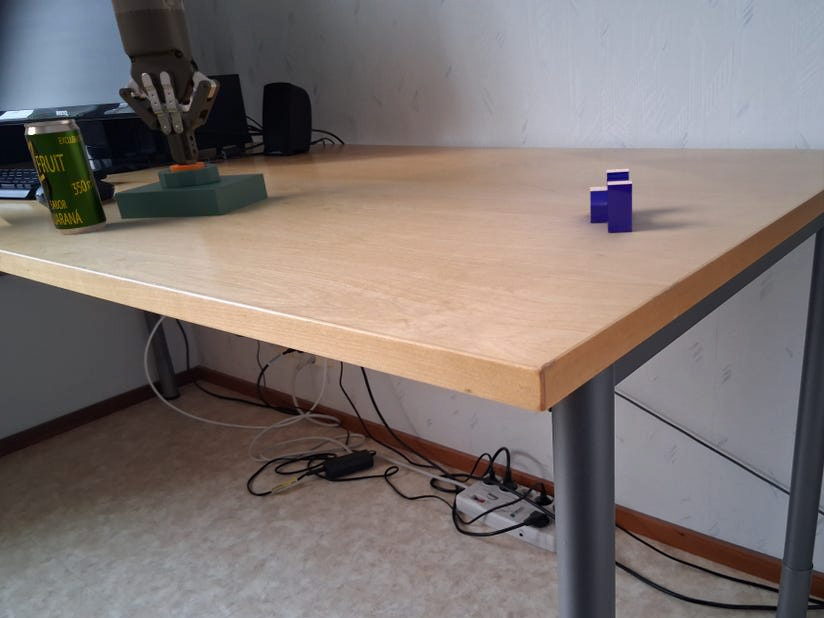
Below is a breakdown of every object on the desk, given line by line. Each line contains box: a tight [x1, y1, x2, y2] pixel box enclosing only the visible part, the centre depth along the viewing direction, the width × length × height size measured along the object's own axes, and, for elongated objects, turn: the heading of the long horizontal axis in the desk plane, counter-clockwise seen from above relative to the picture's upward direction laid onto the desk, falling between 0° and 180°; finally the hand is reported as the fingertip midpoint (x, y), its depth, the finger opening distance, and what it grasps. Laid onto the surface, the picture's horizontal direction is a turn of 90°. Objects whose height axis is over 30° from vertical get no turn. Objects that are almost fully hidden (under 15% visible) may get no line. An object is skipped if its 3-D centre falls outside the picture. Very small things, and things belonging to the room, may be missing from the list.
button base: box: [114, 163, 269, 220], centre depth 88 cm, size 14×11×5 cm
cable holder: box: [589, 168, 633, 234], centre depth 62 cm, size 8×4×4 cm, turn 171°
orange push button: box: [169, 161, 205, 171], centre depth 87 cm, size 4×4×2 cm
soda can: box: [23, 118, 108, 236], centre depth 78 cm, size 5×5×12 cm
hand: (187, 164), depth 86 cm, fingers closed
